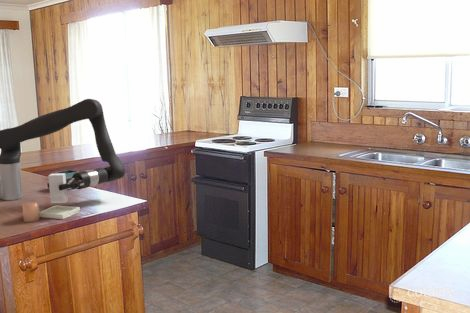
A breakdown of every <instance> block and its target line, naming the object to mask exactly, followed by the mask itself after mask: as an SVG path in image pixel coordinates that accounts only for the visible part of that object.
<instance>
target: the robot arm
mask: <svg viewBox="0 0 470 313" xmlns="http://www.w3.org/2000/svg"><path fill="white" fill-rule="evenodd" d="M84 120H88V121H89V122H90V124H91V127H92V129H93V133H94V138H95V144H96V148H97V152H98V153H99V156H100V159H101V161H102V162H104V163H108V165H109V166H106V167H98V168H95V169H86V170H82V171H79V172H77V173H74V174H73V176H72V178H71V177H69V178H66V184H62V185H59V190H65V189H67V188H68V189H69V190H75V189H76V190H83V189H87V188H92V187H94V186H97V185H101V184H104V183H109V182H114V181H116V180H119V179H122V178H123V177H124V176H125V175H126V168H125V166H124V164H123V162H122V161H121V159H120V158H119V156H118V155H117V153H116V151H115V148H114V146H113V143H112V140H111V138H110V134H109V131H108V128H107V125H106V121H105V120H106V119H105V116H104V111H103V106H102V104H101V102H100V101H98V100H97V99H93V98H86V99H83V100H81V101H79V102H77V103H75V104H73V105H71V106H68V107H66V108H62V109H57V110H55V111H51V112H48V113H45V114H43V115H40V116H37V117H35V118H33V119H30V120H28V121H26V122H24V123H22V124H20V125H18V126H14V127H11V128H10V127H7V128H4V129H0V199H1V200H3V201H13V200H14V201H15V200H19V199H22V198H24V195H23V182H22V169H21V155H22V151H21V149H22V146H21V143H22V142H25V141H28V140H29V141H30V140H34V139H37V138H41V137H45V136H48V135H51V134H54V133H56V132H58V131H60V130H63V129H64V128H66V127H68V126H69V125H71V124H73V123H76V122H80V121H84ZM47 188H48V189H50V188H49V182H48V183H47Z"/></svg>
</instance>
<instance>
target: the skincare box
mask: <svg viewBox="0 0 470 313" xmlns="http://www.w3.org/2000/svg"><path fill="white" fill-rule="evenodd" d="M47 177H48V183H49V188H48V189H49V195H50V196H49V197H50V203H51V204H65V203H66V202H67V201H68V200H69V198H68V190H67V189H65V190H59V185H62V184H66V175H65V173H56V174H55V173H50V174H49V175H48V176H47Z"/></svg>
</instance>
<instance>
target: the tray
mask: <svg viewBox="0 0 470 313" xmlns="http://www.w3.org/2000/svg"><path fill="white" fill-rule="evenodd" d="M79 212H81V208H80V206H70V205H69V206H68V205H58V204H57V205H53V206H51V207H48V208H46V209H43V210H41V211H39V218H48V219H57V220H58V219H60V220H64V219H66V218H68V217H71V216H72V215H75V214H77V213H79Z"/></svg>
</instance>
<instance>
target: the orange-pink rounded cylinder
mask: <svg viewBox="0 0 470 313" xmlns="http://www.w3.org/2000/svg"><path fill="white" fill-rule="evenodd" d="M39 212H40V205H39V202H38V201H36V200H35V201H34V200H32V201H24V202H22V214H23V215H22V216H23V221H24V222H26V223H30V222H31V223H32V222H37V221H39V220H40V219H41V217H39Z"/></svg>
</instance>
